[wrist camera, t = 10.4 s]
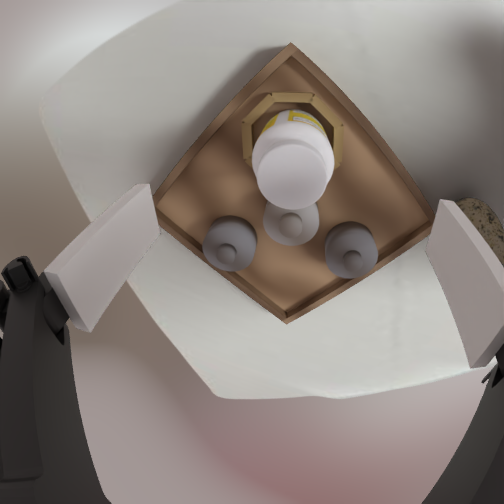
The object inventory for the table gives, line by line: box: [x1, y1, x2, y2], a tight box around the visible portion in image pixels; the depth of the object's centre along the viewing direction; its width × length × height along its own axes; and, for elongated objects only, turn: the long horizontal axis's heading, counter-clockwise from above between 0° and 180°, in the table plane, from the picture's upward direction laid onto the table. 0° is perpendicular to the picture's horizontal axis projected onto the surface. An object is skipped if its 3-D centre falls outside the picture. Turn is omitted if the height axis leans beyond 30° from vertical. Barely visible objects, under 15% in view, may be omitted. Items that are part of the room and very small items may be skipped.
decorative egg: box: [455, 198, 504, 265], centre depth 21 cm, size 6×6×10 cm
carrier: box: [152, 43, 435, 324], centre depth 26 cm, size 22×22×5 cm
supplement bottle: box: [252, 109, 334, 210], centre depth 19 cm, size 5×5×10 cm
